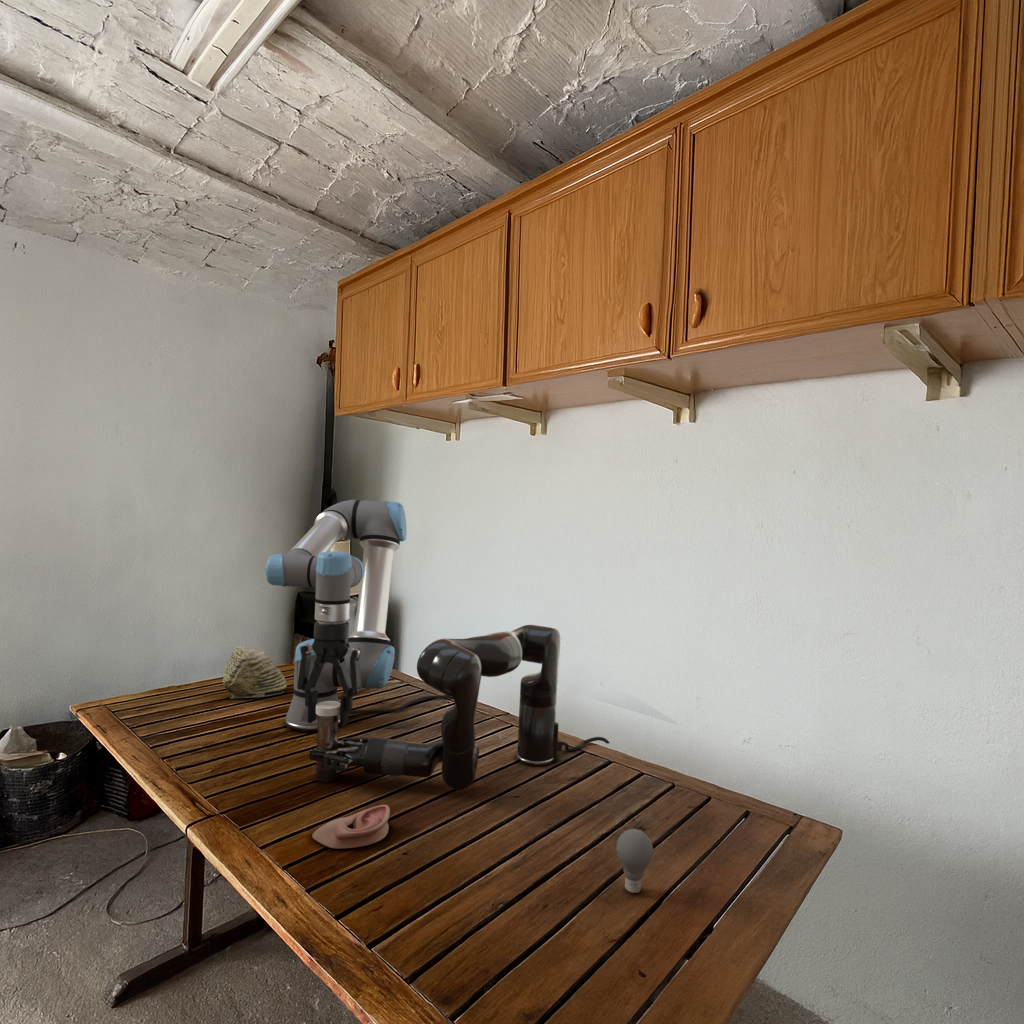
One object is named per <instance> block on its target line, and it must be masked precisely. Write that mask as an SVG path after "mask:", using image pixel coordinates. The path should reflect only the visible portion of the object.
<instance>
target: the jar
mask: <svg viewBox="0 0 1024 1024" xmlns="http://www.w3.org/2000/svg"><path fill="white" fill-rule="evenodd" d="M338 720H339V714H338V715H335V716H319V715H318V726H317V732H316V750H326V751H336V750H337V746H338V741H339V726H338ZM335 756H337V755H335ZM337 772H338V770H335V769H331V768H327V767H325V762H324V761H315V780H316V782H318V783H330V782H333V781H335V780H336V779H337Z"/></svg>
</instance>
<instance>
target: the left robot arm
mask: <svg viewBox="0 0 1024 1024" xmlns="http://www.w3.org/2000/svg"><path fill="white" fill-rule="evenodd" d="M313 523H314V524H313V526H311V528H310V529H309V530H308V531H307V532H306V533H305V534H304V535H303V536H302V537H301V538H300V540H299V541H298V542H297V543H296V544H295V545H294V546H292V548H291V549H290V550H289V551H288V552H287V553H286V554H283V553H275V554H274V553H273V554H271V555H269V557H268V558H267V560H266V564H265V578H266V581H267V583H268V584H269V585H272V586H277V587H283V588H284V587H296V588H297V587H299V588H300V587H301V588H315V600H314V620H315V621H316V622H314V625H313V638H311V639H307V640H304V641H302V642H300V643H298V644H297V645H296V648H295V655H294V660H293V662H294V672H293V695H292V696H293V697H292V699H291V702H290V704H289V708H288V711H287V713H286V715H285V726H286V728H287V729H289V730H291V731H294V732H295V731H296V732H301V733H317V726H318V715H317V714H316V704H318V703H320V702H324V701H337V702H340V703H341V706H340V714H339V720H338V727H340V728H341V727H342V728H344V727H345V726H346V725H347V724H348V723H349V715H355V714H369V713H391V712H393V713H394V712H398V711H401V710H403V709H405V708H407V707H409V706H411V705H413V704H416V703H418V702H422V701H426V700H433V699H453V698H452V697H449V696H447V695H445V694H435V695H426V696H425V695H424V696H421V697H418V698H415V699H411V700H410V701H408V702H406V703H403V704H402V705H400V706H397V707H392V708H366V709H354V710H353V703H354V702H353V701H354V696H357V695H358V694H359V693H361V692H362V689H368V690H370V689H382V688H384V687H385V686H386V685H387V684H388V682H389V680H390V677H391V675H392V671H393V668H394V663H395V653H396V650H395V647H394V646H392V645H391V644H390V642H391V639H390V638H389V637H388V635H387V634H386V629H387V620H388V611H389V610H388V609H389V601H390V591H391V580H392V571H393V564H394V563H393V562H394V553H395V552H396V551H397V550H398V549H400V544H401V542H404V541H406V539H407V517H406V513H405V508H404V506H403V504H401V502H398V501H389V500H365V499H364V500H363V499H347V500H344V501H341V502H337V503H335V504H333V505H331V506H329V507H327V508H325V509H324V510H323V511H322V512H320V513H319V514H318V515H317V516H316V518H315V520H314V522H313ZM343 539H351V540H352V539H355V540H359V545H360V547H362V549H363V556H362V560H361V559H360V558H358V557H356V556H353V555H351V554H350V553H349V552H347V551H346V552H345V551H330V550H331V549H332V548H333V547H334V545H335V544H336V543H339V542H341V541H342V540H343ZM357 585H359V588H358V597H357V607H356V614H355V623H354V631H353V632H352V633H351V634H350V631H349V630H350V623H349V621H348V620H350V611H351V610H350V607H351V588H354V587H357ZM338 688H341V689H342V692H343V695H342V696H341V697H340V699H339V695H338Z"/></svg>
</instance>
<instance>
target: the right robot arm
mask: <svg viewBox="0 0 1024 1024" xmlns="http://www.w3.org/2000/svg"><path fill="white" fill-rule="evenodd" d="M562 643H563V641H562V634H561V631H560V630H559V629H558V628H556V627H551V626H545V625H536V624H525V625H522V626H519V627H518V628H515V629H513V630H510V631H508V630H506V631H498V632H497V631H496V632H492V633H488V634H485V635H478V636H472V637H467V638H466V637H465V638H439V639H436V640H434V641H433V642H431V643H429V644H428V645H427V646H426V647H425V648H424V649H423V650H422V651H421V653H420V655H419V657H418V659H417V662H416V671H417V675H418V676H419V678H420V680H421V681H422V682H424V683H425V684H426V685H427V686H429V687H431V688H432V689H434V690H435V691H438V692H440V693H442V695H447V696H449V697H452V698H451V699H453V702H454V705H452V706H450V708H449V709H447V710H446V711H445V713H444V714H443V717H442V719H441V724H440V734H441V741H440V740H439V741H435V742H429V743H425V742H415V741H413V742H412V741H408V740H407V741H406V740H402V739H394V738H393V739H392V738H382V737H371V738H369V737H343V738H341V739H342V740H339V739H338V746H337V750H336V751H326V750H317V748H316V749H315V748H314V749H311V750H310V751H309V760H310V761H315V762H316V761H324V762H325V767H327V768H331V769H335V770H337V771H339V772H343V773H348V772H349V770H350V769H349V768H351V767H360V766H361V767H362V768H363V771H364V773H365V774H369V775H370V774H371V775H380V776H390V777H413V778H415V777H416V778H429V777H431V776H432V775H433V773H434V771H435V770H436V767H438V765H439V764H441V776H442V780H443V781H444V783H445V785H447V787H449V789H452V790H454V791H465V790H467V789H468V788H470V787H471V786H472V784H473V783H474V781H475V778H476V773H477V768H478V762H479V758H480V757H479V756H480V748H479V746H478V744H476V727H475V717H476V710H477V705H478V700H479V694H480V686H481V680H482V677H487V678H496V677H500V676H503V675H506V674H509V673H512V672H513V671H515V670H516V669H518V667H519V666H520V665H521V662H528V663H534V664H540V665H541V668H540V671H539V672H535V673H530V674H526V675H524V676H522V677H521V679H520V683H519V684H520V686H519V704H518V705H519V706H518V707H519V708H518V711H519V712H518V728H517V729H518V730H517V731H518V732H517V745H516V751H517V752H516V759H517V760H518V761H519V762H520V763H523V764H525V765H529V766H536V767H537V766H539V767H540V766H547V765H550V764H552V763H553V762H557V761H558V753H559V752H563V746H564V748H565V751H567V752H575V751H579V750H581V749H582V748H583V746H584V745H586V744H589V743H592V742H596V741H601V742H604V743H605V744H608V745H609V744H610V742H611V741H610V740H608V738H605V737H603V736H594V737H590V738H587V739H584V740H582V741H580V742H579V744H578V745H576V746H575V745H574V746H572V747H570V746H569V743H568V742H566V741H563V740H561V739H560V738H559V722H558V721H557V701H558V700H557V699H558V698H557V696H558V683H559V679H560V678H559V677H560V665H561V655H562V647H563V646H562ZM335 755H337V756H335Z"/></svg>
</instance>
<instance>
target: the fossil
mask: <svg viewBox="0 0 1024 1024" xmlns="http://www.w3.org/2000/svg"><path fill="white" fill-rule="evenodd" d="M222 676H223V677H222V685H223V687H224V688H225V690H226V691H228V693H229V698H230V699H250V698H264V697H271V696H275V695H281V694H284V693H285V691H286V689H287V687H288V686H287V680H286V678H285V676H284V674H283V673H282V672H281V669H279V668H278V667H277V665H276V663H275V662H274V660H273V659H272V658H271V657H270V656H269V655H268V654H267V653H266V652H265V650H264V649H263V648H260V647H258V648H251V647H247V646H246V647H245V646H238V647H237V648H236V649H235V650H233V651H232V653H231V656H230V657H229V659H228V660H227V663H226V666H225V668H224V671H223V675H222Z"/></svg>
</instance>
